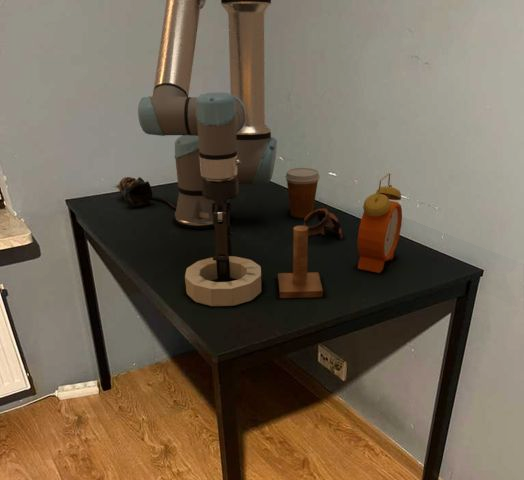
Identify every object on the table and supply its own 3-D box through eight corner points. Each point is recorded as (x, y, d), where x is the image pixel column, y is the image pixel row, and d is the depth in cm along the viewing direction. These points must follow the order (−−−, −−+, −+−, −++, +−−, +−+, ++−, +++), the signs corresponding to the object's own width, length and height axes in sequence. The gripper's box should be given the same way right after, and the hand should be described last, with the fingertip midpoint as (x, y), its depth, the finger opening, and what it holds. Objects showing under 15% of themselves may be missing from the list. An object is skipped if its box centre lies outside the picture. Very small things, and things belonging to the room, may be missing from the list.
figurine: (123, 192, 158) (109, 173, 168) (133, 216, 164) (119, 197, 174) (150, 180, 160) (134, 162, 170) (159, 204, 166) (144, 186, 176)
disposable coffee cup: (283, 209, 161) (283, 167, 154) (315, 208, 162) (316, 166, 155) (287, 220, 153) (287, 177, 146) (320, 219, 154) (322, 176, 147)
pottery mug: (345, 245, 139) (332, 220, 133) (312, 258, 142) (297, 235, 137) (344, 217, 147) (331, 193, 141) (312, 230, 150) (298, 207, 145)
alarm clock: (379, 276, 122) (390, 187, 111) (354, 271, 125) (361, 183, 114) (398, 255, 132) (409, 170, 121) (373, 250, 134) (382, 167, 124)
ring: (172, 295, 116) (170, 278, 114) (213, 267, 128) (212, 251, 126) (237, 312, 110) (236, 294, 107) (274, 281, 121) (274, 264, 119)
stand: (279, 298, 114) (279, 236, 107) (277, 279, 122) (277, 220, 115) (322, 297, 114) (325, 235, 107) (318, 278, 122) (320, 219, 115)
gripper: (237, 194, 102) (241, 298, 114) (238, 161, 122) (242, 253, 134) (196, 194, 102) (205, 299, 114) (205, 162, 122) (211, 254, 134)
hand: (225, 274), depth 124 cm, fingers open, 11 cm apart
